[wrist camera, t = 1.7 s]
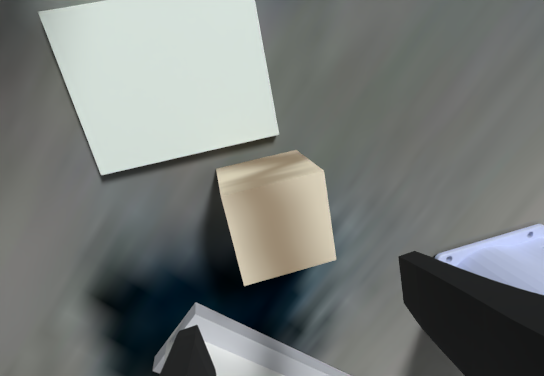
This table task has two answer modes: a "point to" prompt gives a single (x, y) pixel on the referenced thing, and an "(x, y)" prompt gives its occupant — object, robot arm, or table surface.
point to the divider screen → (244, 349)
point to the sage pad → (163, 77)
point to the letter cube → (277, 215)
